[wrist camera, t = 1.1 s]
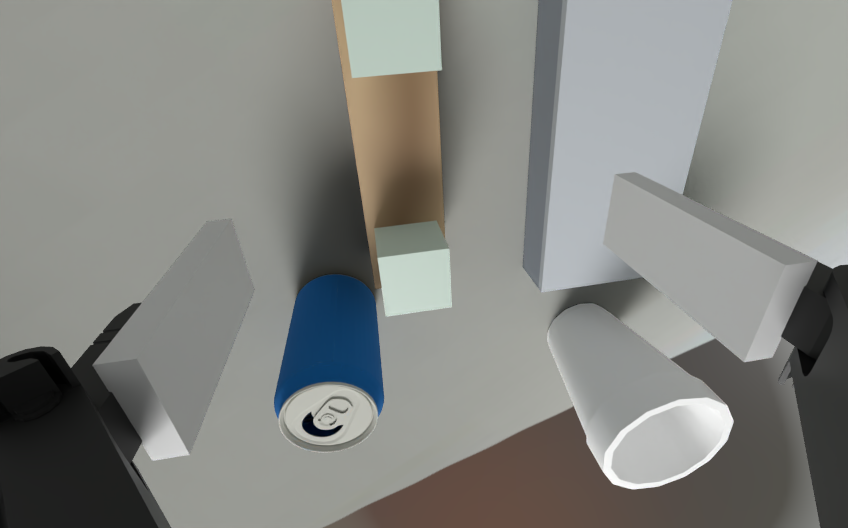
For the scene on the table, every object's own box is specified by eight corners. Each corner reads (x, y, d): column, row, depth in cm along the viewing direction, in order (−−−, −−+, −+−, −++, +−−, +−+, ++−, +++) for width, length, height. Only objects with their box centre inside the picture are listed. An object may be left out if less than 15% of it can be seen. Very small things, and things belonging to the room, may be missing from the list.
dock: (522, 267, 35) (541, 292, 32) (542, -56, 24) (573, -71, 21) (632, 251, 36) (662, 274, 32) (698, -65, 25) (753, -81, 22)
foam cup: (636, 334, 41) (743, 446, 30) (556, 381, 43) (629, 504, 31) (603, 270, 36) (715, 374, 25) (515, 325, 38) (583, 446, 27)
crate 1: (352, 71, 21) (352, 78, 18) (338, -22, 19) (336, -35, 16) (427, 64, 22) (441, 70, 18) (422, -27, 20) (437, -41, 16)
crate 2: (381, 281, 28) (385, 316, 24) (374, 228, 26) (377, 257, 22) (439, 273, 28) (451, 307, 25) (436, 220, 26) (449, 248, 23)
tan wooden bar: (372, 255, 32) (375, 288, 28) (331, -21, 23) (326, -34, 19) (434, 247, 33) (446, 279, 28) (417, -27, 24) (431, -41, 20)
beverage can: (280, 312, 34) (248, 436, 23) (324, 254, 32) (310, 361, 21) (347, 345, 36) (344, 469, 26) (390, 293, 34) (407, 405, 24)
